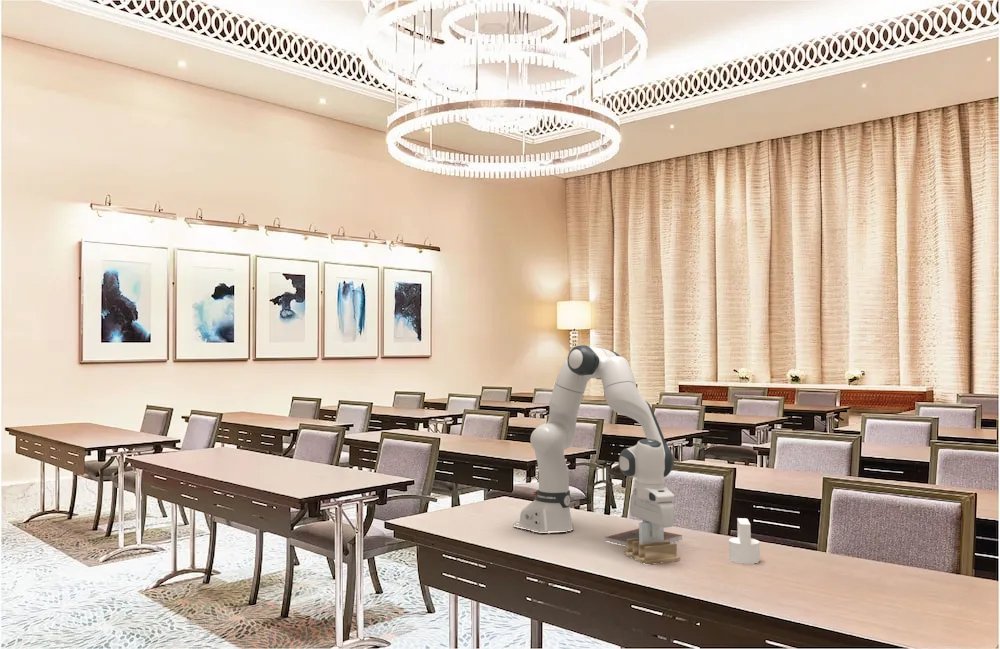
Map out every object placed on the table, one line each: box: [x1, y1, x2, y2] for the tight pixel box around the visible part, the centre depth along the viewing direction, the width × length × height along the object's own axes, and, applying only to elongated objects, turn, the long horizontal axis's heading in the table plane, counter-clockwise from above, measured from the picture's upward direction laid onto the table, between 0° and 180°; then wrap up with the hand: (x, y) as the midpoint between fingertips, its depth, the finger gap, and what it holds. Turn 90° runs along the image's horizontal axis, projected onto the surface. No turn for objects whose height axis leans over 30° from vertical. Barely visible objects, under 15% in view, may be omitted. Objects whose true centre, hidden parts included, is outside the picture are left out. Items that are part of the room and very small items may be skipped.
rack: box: [623, 538, 681, 565], centre depth 238 cm, size 13×12×5 cm
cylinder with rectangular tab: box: [728, 517, 761, 565], centre depth 235 cm, size 9×9×12 cm
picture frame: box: [604, 527, 683, 546], centre depth 259 cm, size 16×2×22 cm
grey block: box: [638, 521, 665, 544], centre depth 238 cm, size 2×8×8 cm, turn 111°
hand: (651, 536), depth 238 cm, fingers closed on grey block, 1 cm apart
